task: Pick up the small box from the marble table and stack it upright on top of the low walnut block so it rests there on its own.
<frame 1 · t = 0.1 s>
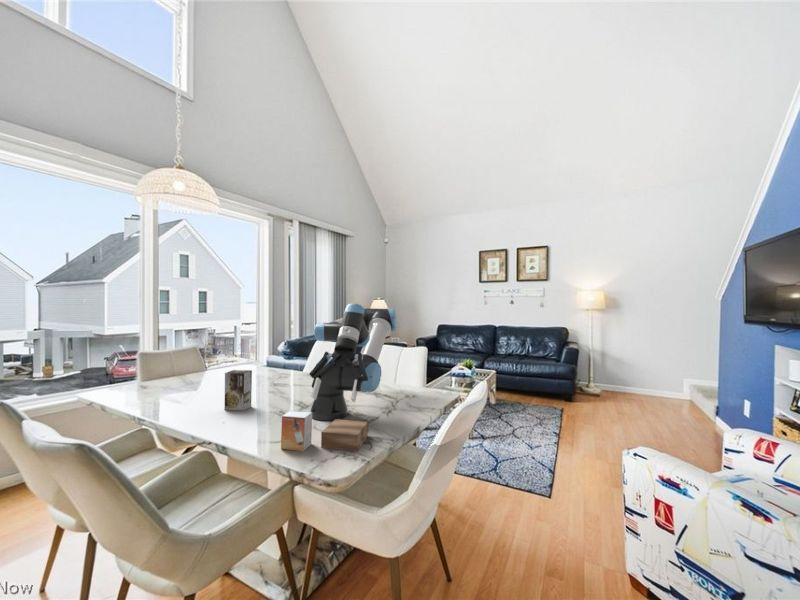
hand: (333, 399, 104), 15 cm above the table, tool tilted 35°, fingers open, 13 cm apart
walnut block: (345, 441, 108), on the table
coffee box: (238, 408, 141), on the table
small box: (296, 447, 104), on the table
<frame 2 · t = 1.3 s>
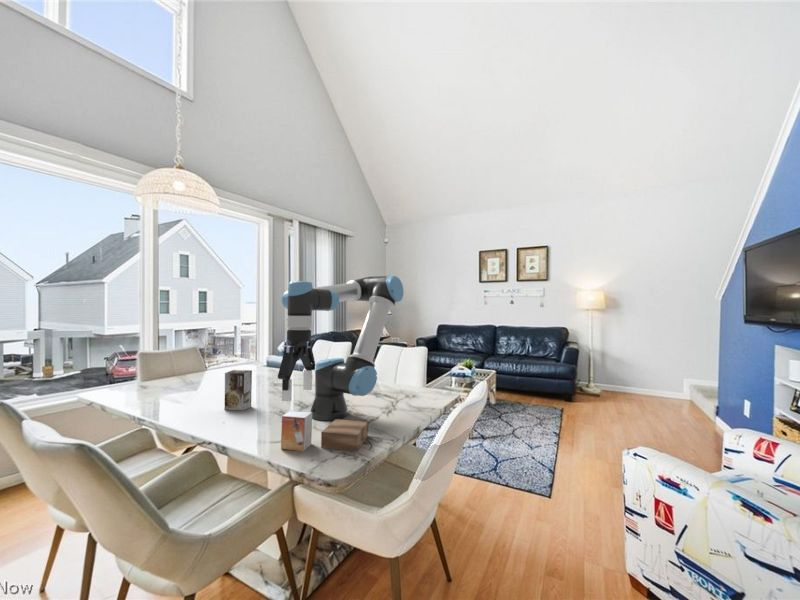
hand: (297, 394, 104), 17 cm above the table, tool pointing down, fingers open, 13 cm apart
nothing on the table moved.
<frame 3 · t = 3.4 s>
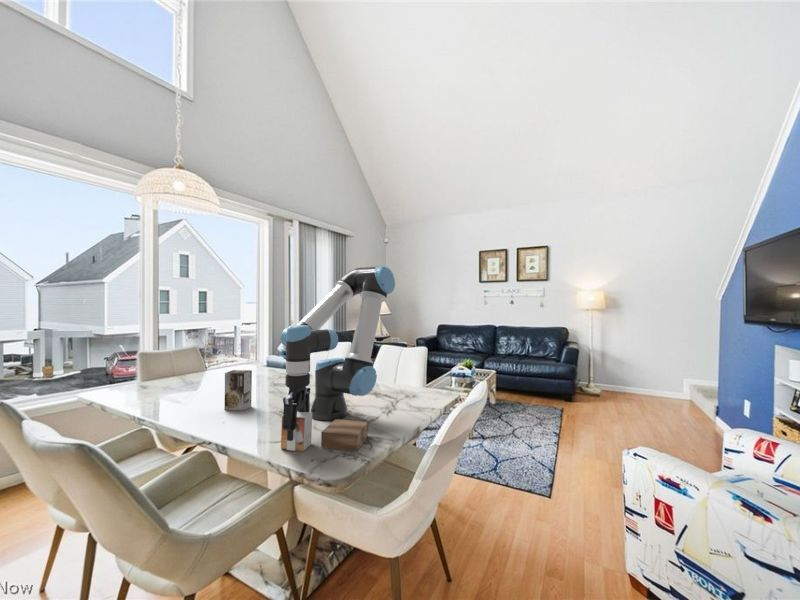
hand: (296, 445, 104), 0 cm above the table, tool pointing down, fingers closed on small box, 6 cm apart
small box: (296, 447, 104), on the table, touching gripper
everything else where it was.
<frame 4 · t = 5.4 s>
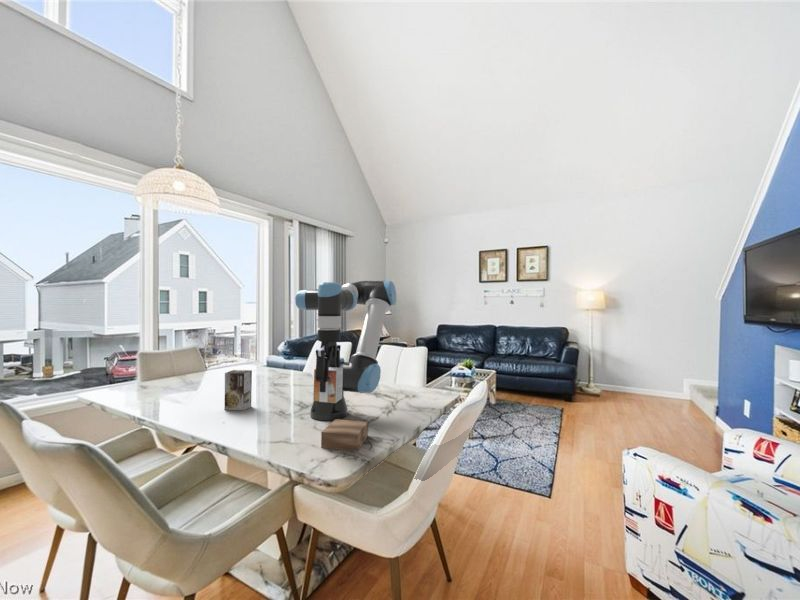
hand: (328, 398, 107), 15 cm above the table, tool pointing down, fingers closed on small box, 6 cm apart
small box: (328, 400, 107), point 14 cm above the table, touching gripper
everything else where it was.
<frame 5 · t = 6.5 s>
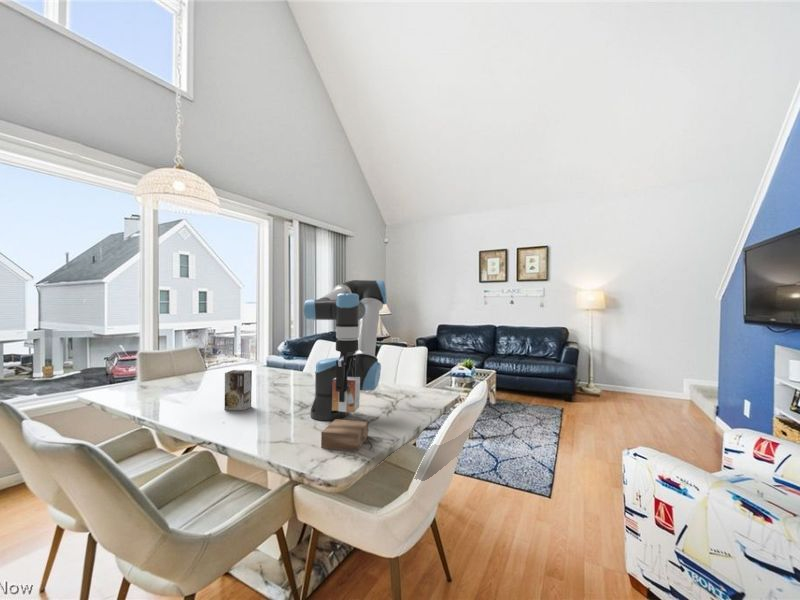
hand: (345, 408, 108), 11 cm above the table, tool pointing down, fingers closed on small box, 6 cm apart
small box: (345, 409, 108), point 11 cm above the table, touching gripper
everything else where it was.
when the fingers open (6 cm above the table, at t = 7.6 s): small box stays where it is, resting on walnut block.
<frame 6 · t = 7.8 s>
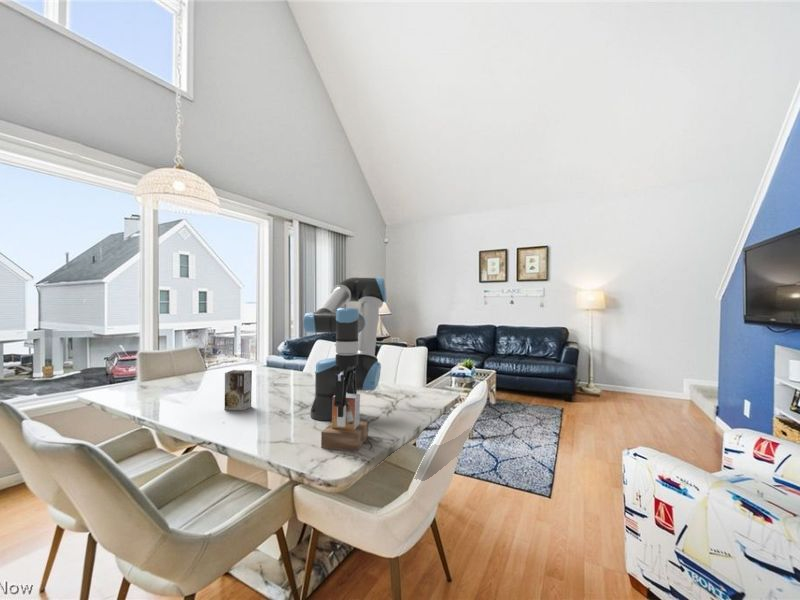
hand: (345, 421, 108), 7 cm above the table, tool pointing down, fingers open, 8 cm apart
small box: (345, 427, 108), point 5 cm above the table, touching walnut block
everything else where it was.
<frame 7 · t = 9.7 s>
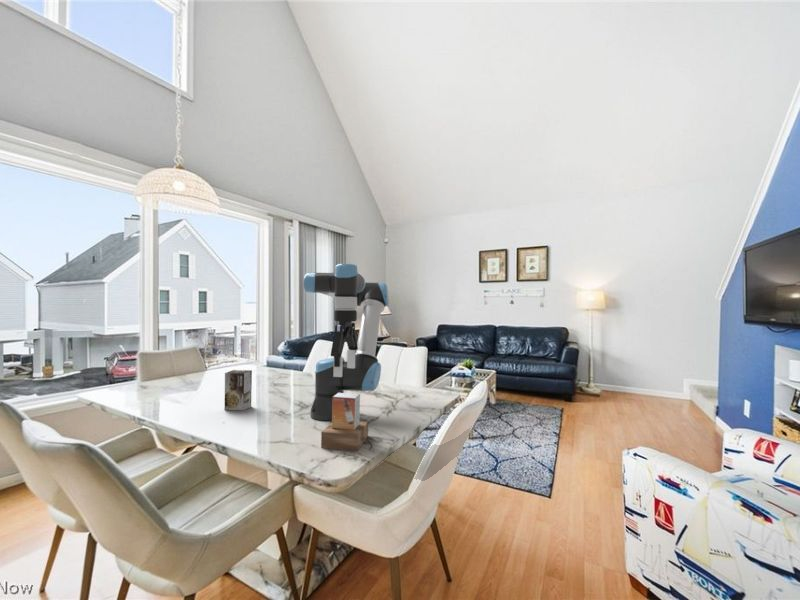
hand: (344, 372, 109), 23 cm above the table, tool pointing down, fingers open, 13 cm apart
nothing on the table moved.
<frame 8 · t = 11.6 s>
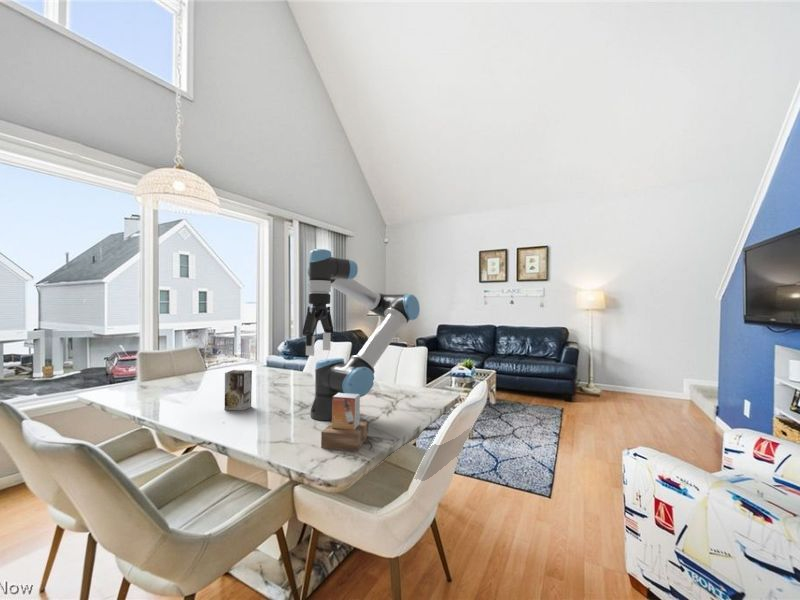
hand: (318, 352, 115), 29 cm above the table, tool pointing down, fingers open, 13 cm apart
nothing on the table moved.
at the end: small box inside the target area on the walnut block (0.1 cm from its centre), point 4.8 cm above the walnut block's base; small box tilted 0°; the gripper is holding nothing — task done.
